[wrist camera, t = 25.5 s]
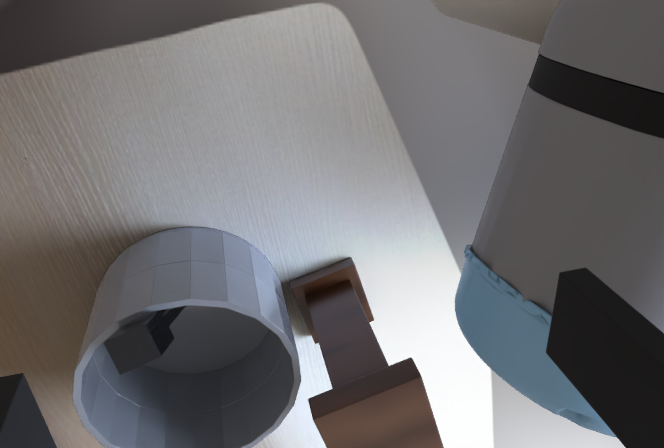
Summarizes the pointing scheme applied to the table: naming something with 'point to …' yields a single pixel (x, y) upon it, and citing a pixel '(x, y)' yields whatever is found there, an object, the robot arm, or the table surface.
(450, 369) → the table surface
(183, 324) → the pot
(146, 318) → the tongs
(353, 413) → the pedestal
